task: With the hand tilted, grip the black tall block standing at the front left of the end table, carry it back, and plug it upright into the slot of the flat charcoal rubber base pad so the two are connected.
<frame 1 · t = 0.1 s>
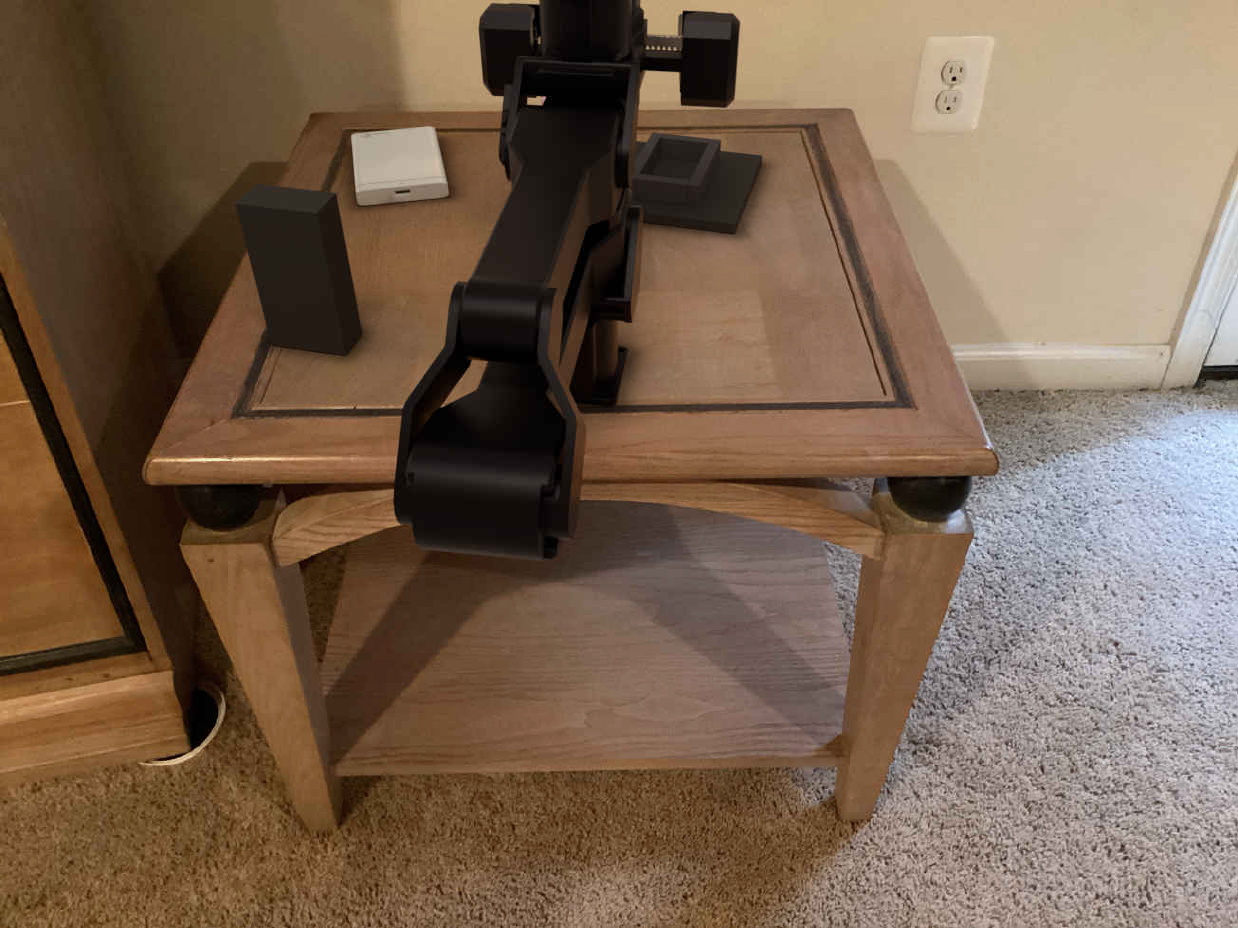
hand: (624, 18, 84), 17 cm above the table, tool horizontal, fingers open, 9 cm apart
black tall block: (317, 339, 80), on the table
rabbit figure: (560, 146, 106), on the table
hard drive: (399, 174, 101), on the table
base pad: (673, 188, 98), on the table
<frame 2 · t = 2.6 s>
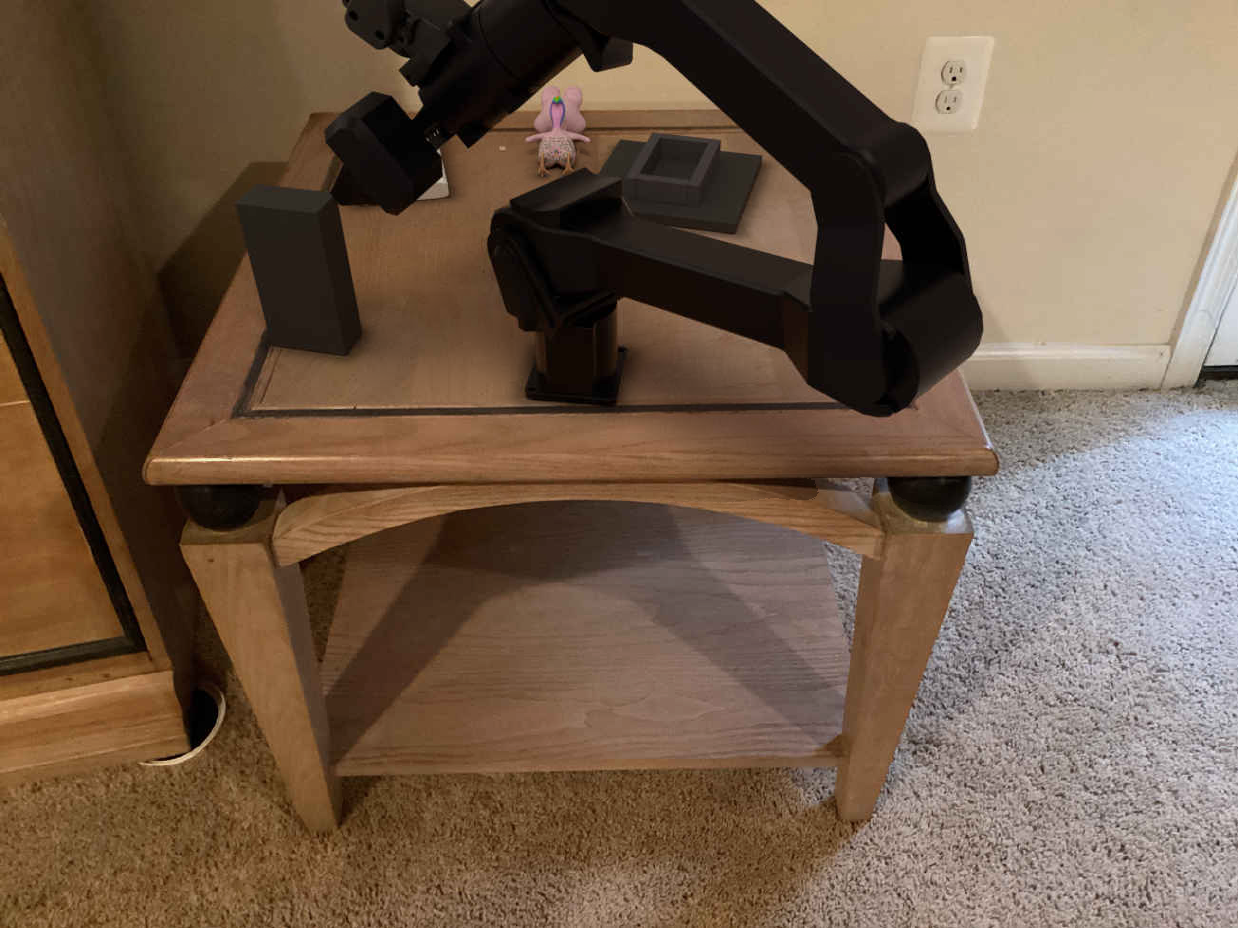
hand: (374, 167, 73), 13 cm above the table, tool tilted 50°, fingers open, 9 cm apart
nothing on the table moved.
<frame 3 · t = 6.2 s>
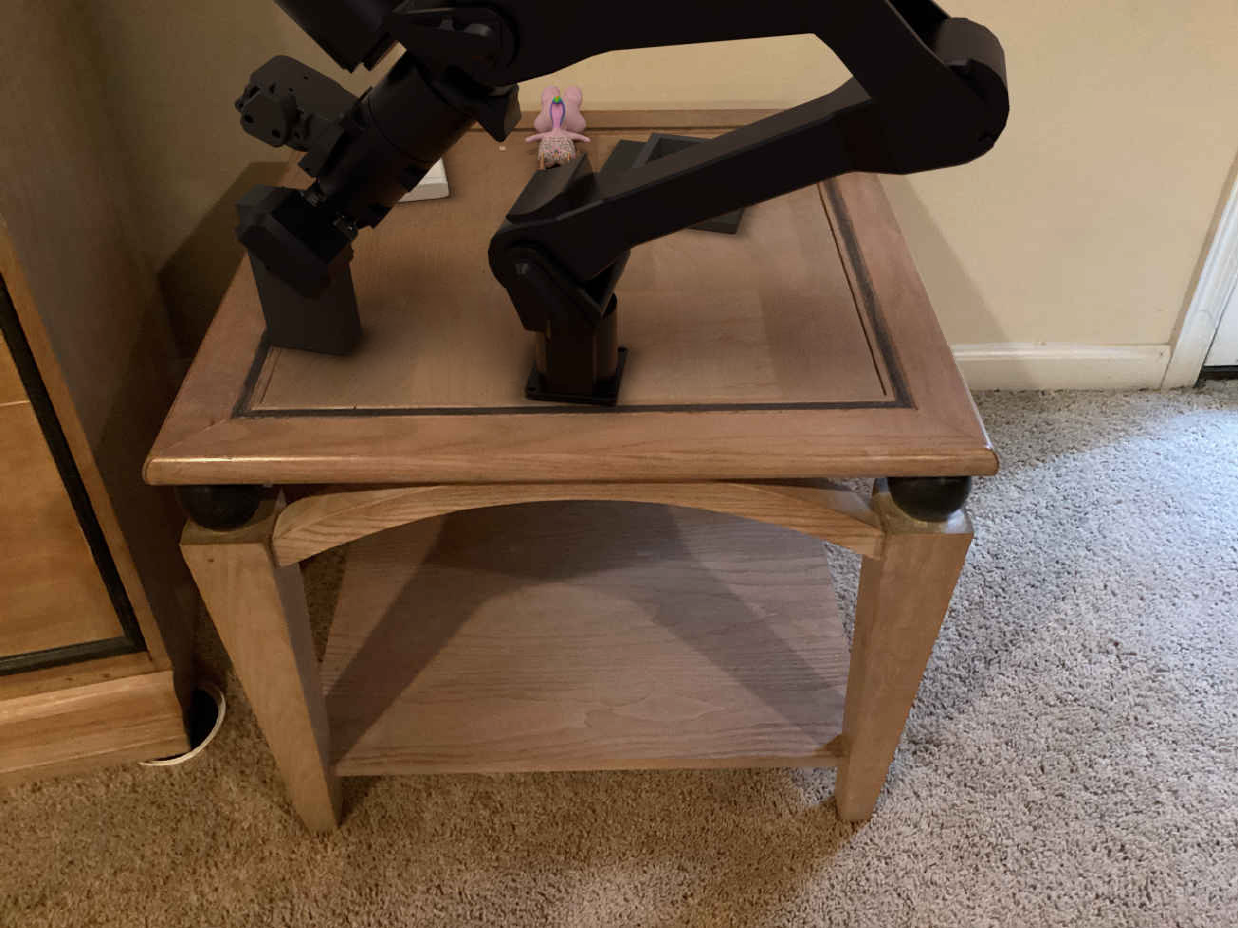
hand: (282, 259, 76), 7 cm above the table, tool tilted 45°, fingers closed on black tall block, 3 cm apart
black tall block: (317, 339, 80), on the table, touching gripper
everything else where it was.
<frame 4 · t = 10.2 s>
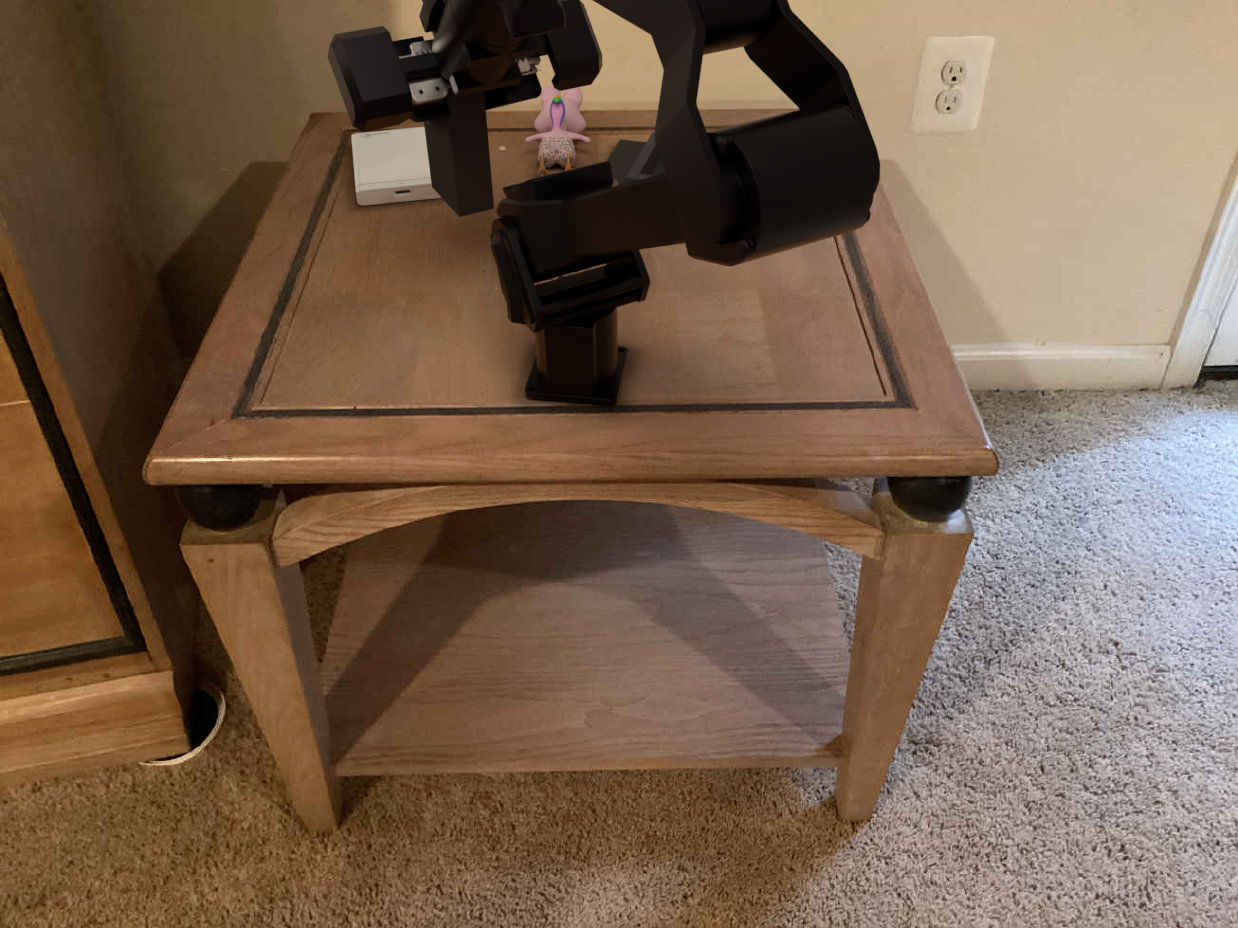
hand: (447, 112, 83), 12 cm above the table, tool tilted 45°, fingers closed on black tall block, 3 cm apart
black tall block: (462, 197, 86), point 5 cm above the table, touching gripper
everything else where it was.
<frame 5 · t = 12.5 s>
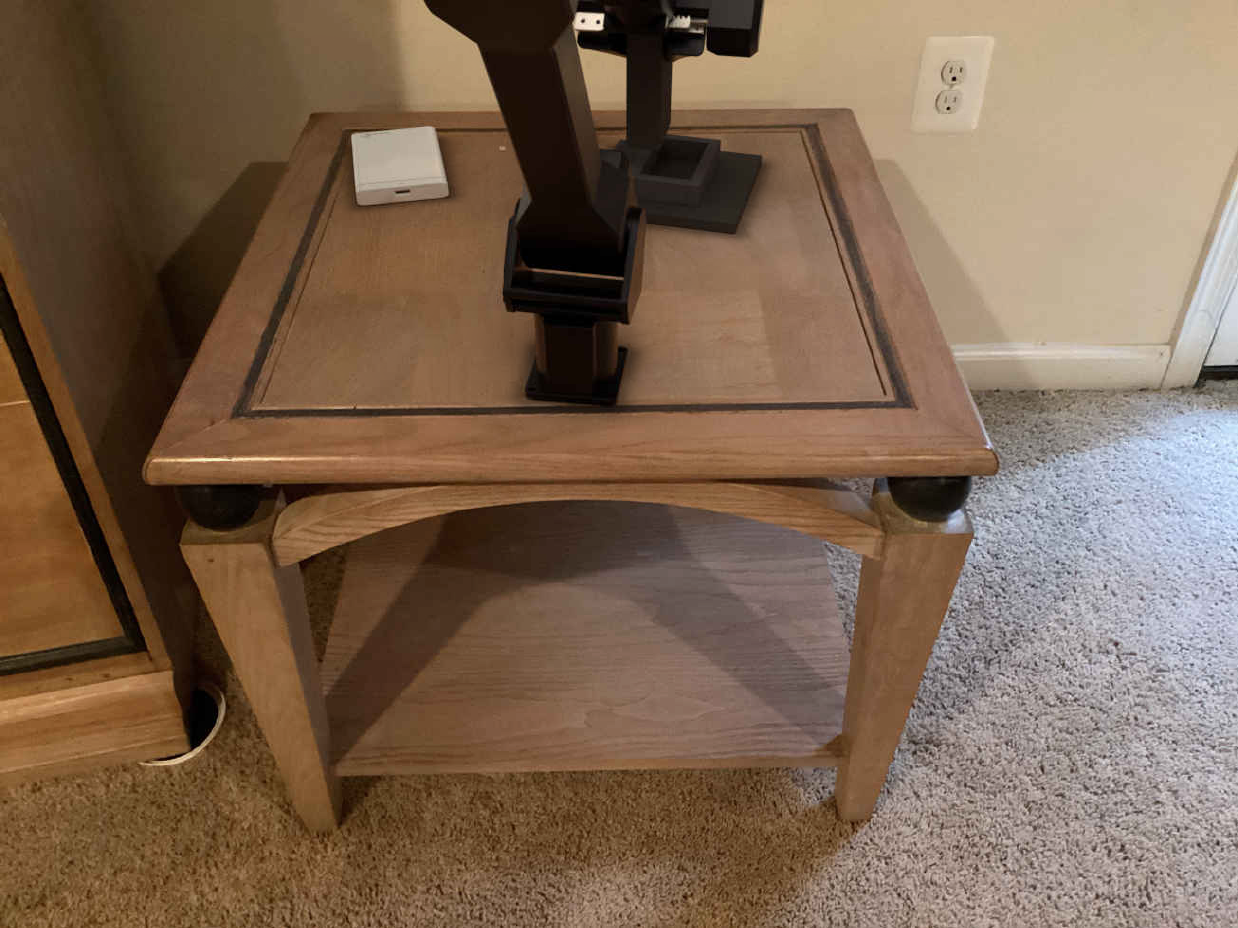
hand: (653, 55, 91), 12 cm above the table, tool tilted 45°, fingers closed on black tall block, 3 cm apart
black tall block: (648, 135, 95), point 5 cm above the table, touching gripper
everything else where it was.
when the fingers open (8 cm above the table, at t = 14.5 s): black tall block stays where it is, resting on base pad.
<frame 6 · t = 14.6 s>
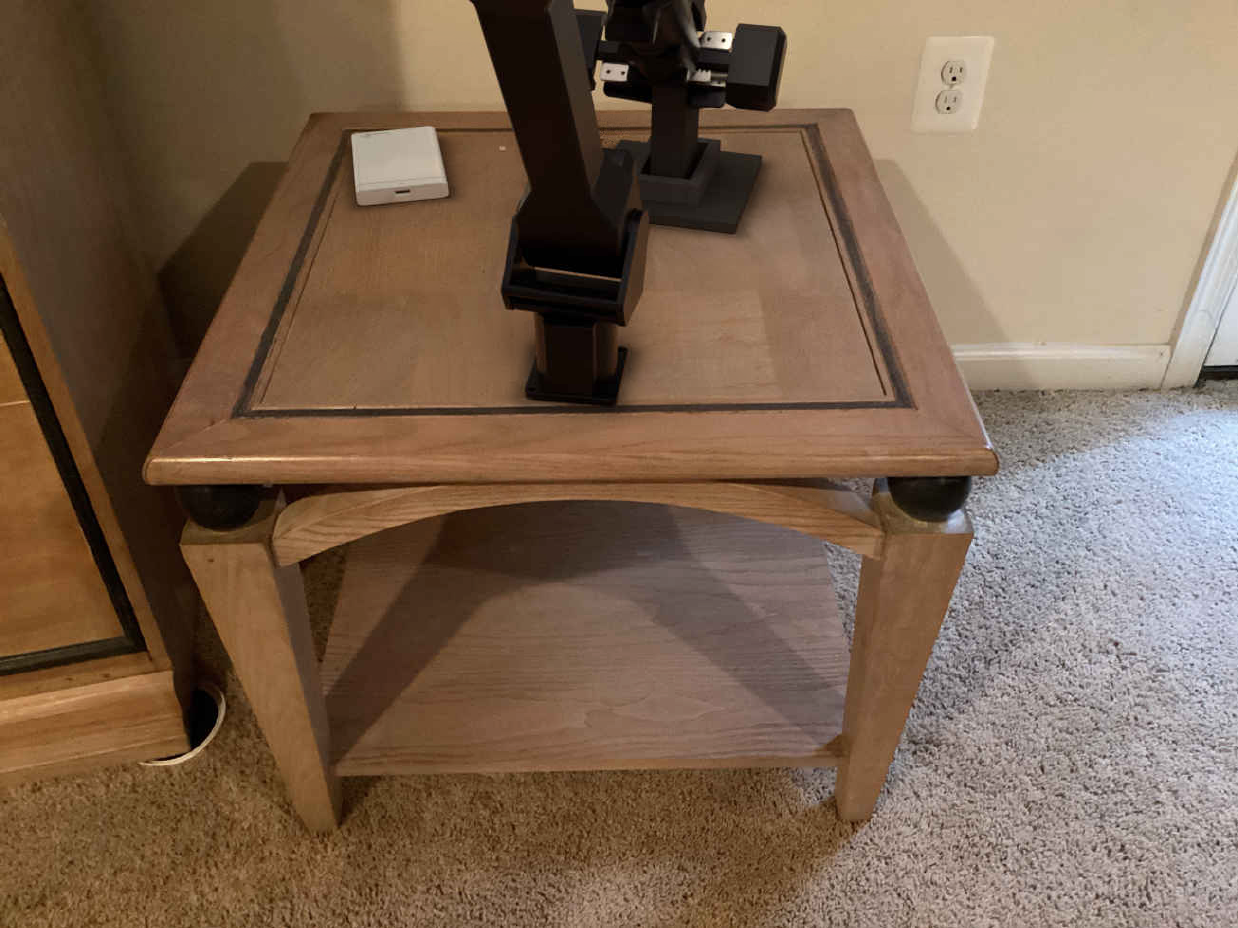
hand: (679, 102, 94), 8 cm above the table, tool tilted 45°, fingers open, 3 cm apart
black tall block: (673, 178, 98), point 1 cm above the table, touching base pad
everything else where it was.
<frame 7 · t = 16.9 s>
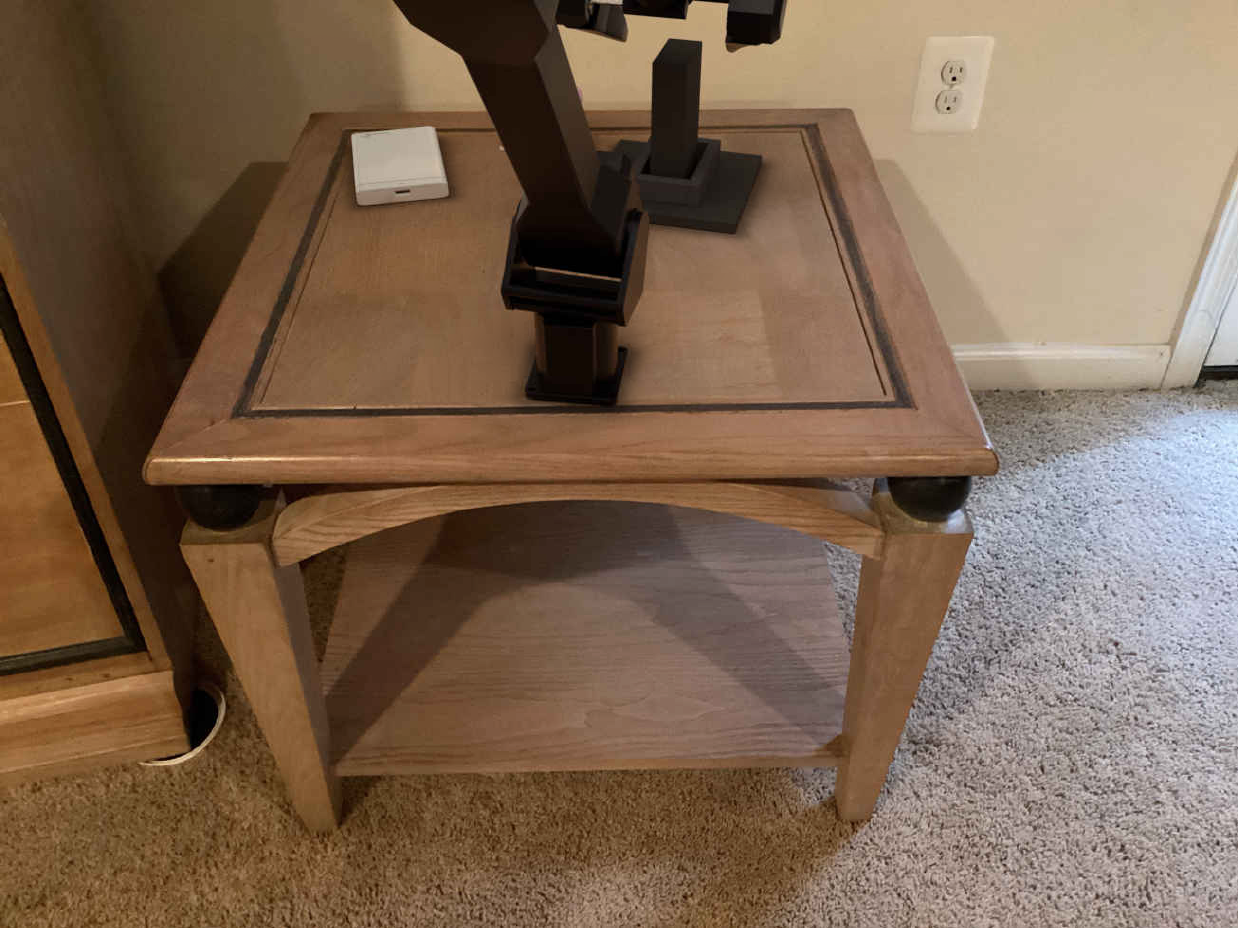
hand: (678, 41, 89), 13 cm above the table, tool tilted 45°, fingers open, 9 cm apart
nothing on the table moved.
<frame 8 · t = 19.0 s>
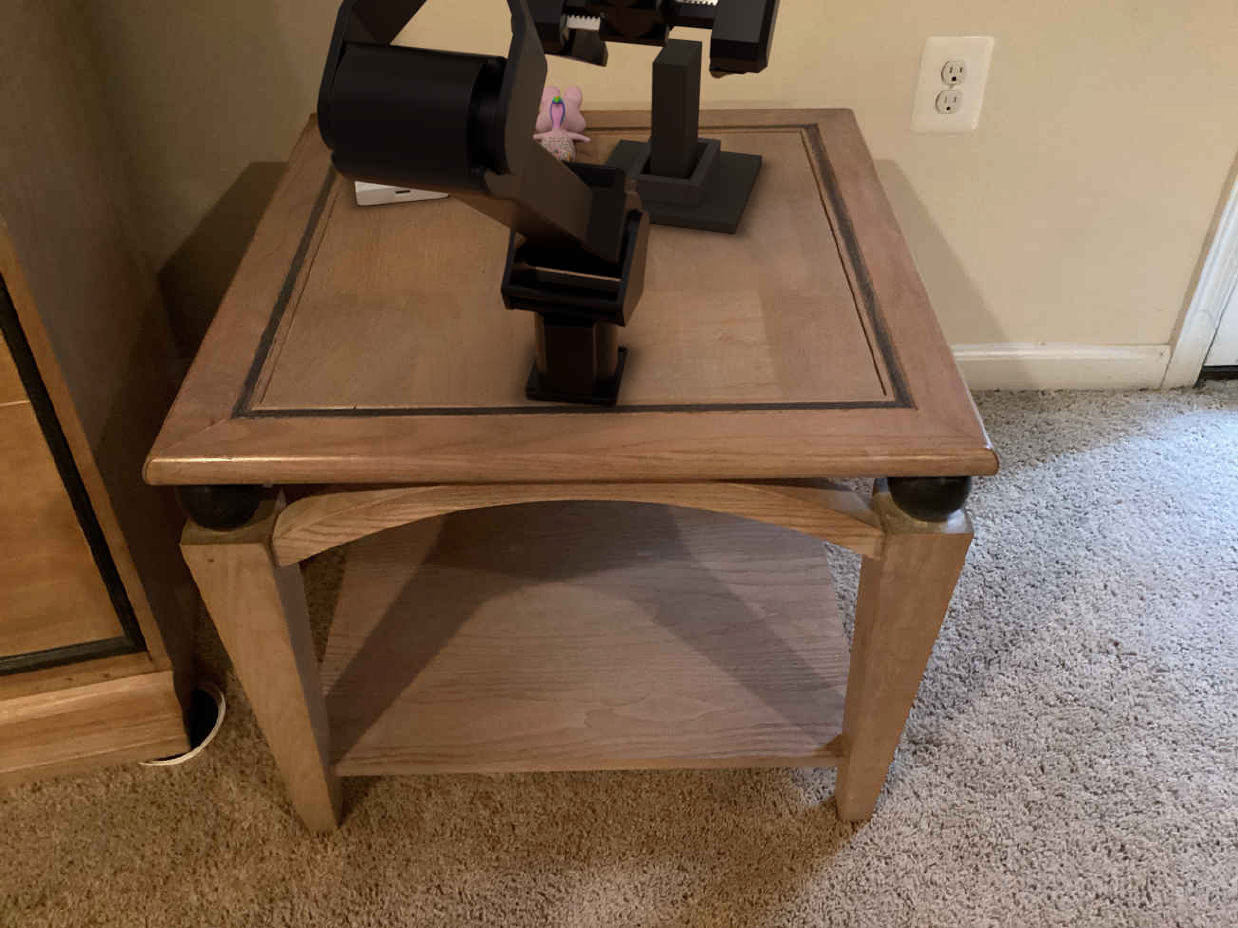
hand: (661, 66, 85), 14 cm above the table, tool tilted 45°, fingers open, 9 cm apart
nothing on the table moved.
at the end: black tall block 0.0 cm off-centre on the base pad, point 1.0 cm above the base pad's base; black tall block tilted 0°; the gripper is holding nothing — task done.
